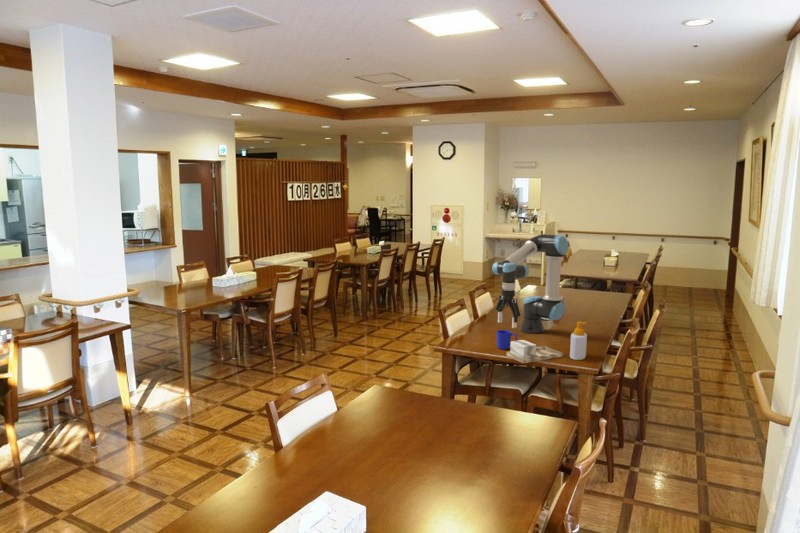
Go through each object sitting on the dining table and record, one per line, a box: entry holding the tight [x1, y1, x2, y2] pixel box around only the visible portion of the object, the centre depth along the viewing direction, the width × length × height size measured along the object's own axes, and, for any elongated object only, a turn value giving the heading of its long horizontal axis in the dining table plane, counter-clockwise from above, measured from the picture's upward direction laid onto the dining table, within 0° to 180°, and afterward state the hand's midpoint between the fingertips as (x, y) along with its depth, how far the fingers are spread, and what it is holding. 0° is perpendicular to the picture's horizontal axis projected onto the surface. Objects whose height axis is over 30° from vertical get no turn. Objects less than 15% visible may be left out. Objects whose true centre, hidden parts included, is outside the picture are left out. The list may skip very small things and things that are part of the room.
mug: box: [496, 329, 518, 350], centre depth 325 cm, size 8×12×10 cm
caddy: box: [505, 339, 564, 364], centre depth 311 cm, size 28×15×9 cm, turn 117°
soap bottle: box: [569, 321, 588, 361], centre depth 309 cm, size 13×8×20 cm, turn 148°
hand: (507, 325), depth 324 cm, fingers open, 13 cm apart
